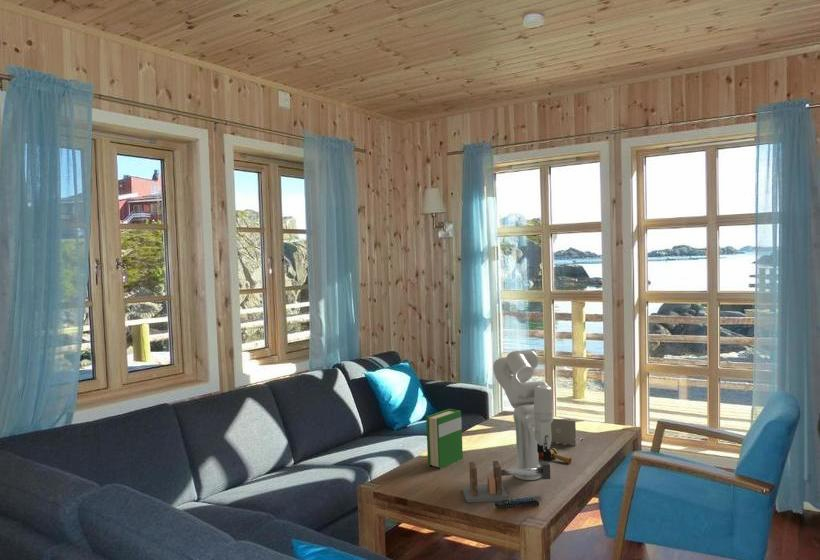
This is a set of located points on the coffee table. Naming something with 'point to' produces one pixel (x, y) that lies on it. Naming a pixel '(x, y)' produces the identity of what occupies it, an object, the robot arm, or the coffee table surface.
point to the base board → (483, 494)
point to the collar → (491, 484)
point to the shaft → (530, 471)
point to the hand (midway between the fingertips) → (544, 456)
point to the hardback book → (444, 438)
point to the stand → (496, 475)
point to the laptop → (563, 431)
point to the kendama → (557, 456)
